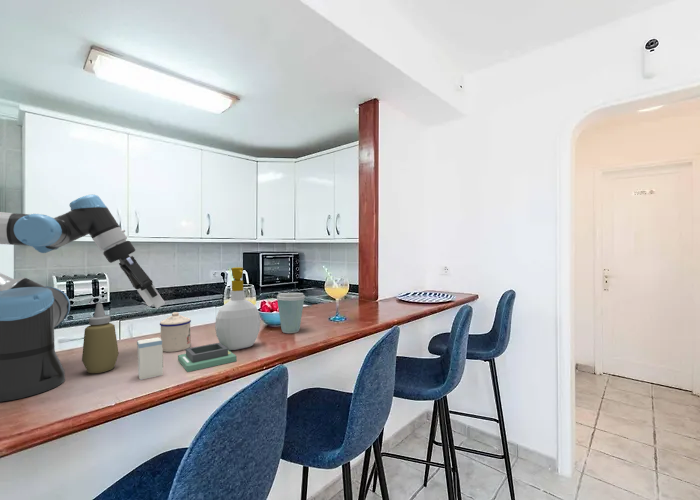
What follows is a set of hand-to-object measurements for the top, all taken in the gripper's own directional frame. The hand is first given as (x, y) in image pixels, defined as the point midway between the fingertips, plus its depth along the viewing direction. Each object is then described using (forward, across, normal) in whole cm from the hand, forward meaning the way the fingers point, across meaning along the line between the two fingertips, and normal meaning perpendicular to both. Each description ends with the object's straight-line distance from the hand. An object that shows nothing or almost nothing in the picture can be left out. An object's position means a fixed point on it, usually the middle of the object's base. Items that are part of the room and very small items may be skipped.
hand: (156, 305), depth 106 cm
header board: (+19, -16, -1) cm, 25 cm away
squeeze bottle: (+7, -4, +20) cm, 22 cm away
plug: (+12, -17, +12) cm, 25 cm away
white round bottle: (+24, -10, -11) cm, 29 cm away
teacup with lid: (+16, +5, +2) cm, 17 cm away
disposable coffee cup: (+35, -3, -32) cm, 47 cm away
